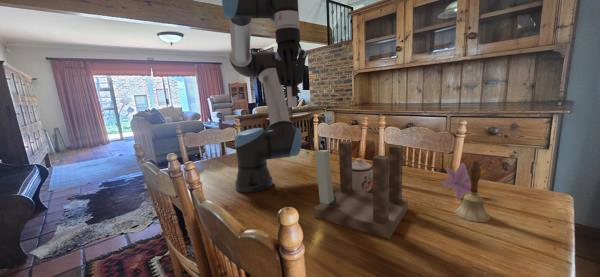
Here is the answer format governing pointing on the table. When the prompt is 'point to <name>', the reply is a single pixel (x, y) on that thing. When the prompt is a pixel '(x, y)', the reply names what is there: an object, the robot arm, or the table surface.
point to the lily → (458, 180)
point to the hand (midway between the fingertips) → (292, 106)
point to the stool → (368, 195)
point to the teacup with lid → (361, 175)
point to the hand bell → (473, 199)
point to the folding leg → (324, 176)
